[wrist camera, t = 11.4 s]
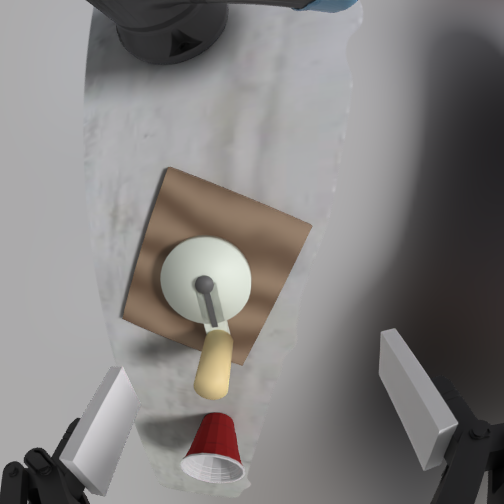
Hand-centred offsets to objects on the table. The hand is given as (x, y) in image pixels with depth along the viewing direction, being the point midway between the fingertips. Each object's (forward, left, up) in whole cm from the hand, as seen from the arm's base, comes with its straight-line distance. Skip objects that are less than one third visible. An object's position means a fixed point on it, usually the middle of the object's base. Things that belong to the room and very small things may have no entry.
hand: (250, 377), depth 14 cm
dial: (+10, -2, -28) cm, 29 cm away
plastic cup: (+36, +8, -29) cm, 47 cm away
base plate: (+8, -4, -29) cm, 30 cm away
